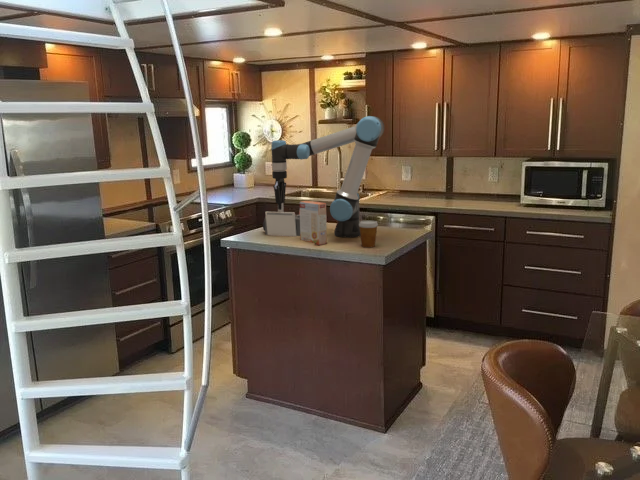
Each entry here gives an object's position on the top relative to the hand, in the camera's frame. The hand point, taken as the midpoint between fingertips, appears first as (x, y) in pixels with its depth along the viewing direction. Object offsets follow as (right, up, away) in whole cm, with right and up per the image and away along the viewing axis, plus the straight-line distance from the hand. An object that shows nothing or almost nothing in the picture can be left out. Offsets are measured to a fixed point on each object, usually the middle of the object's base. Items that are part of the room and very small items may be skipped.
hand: (280, 215), depth 308 cm
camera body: (+2, -10, +8) cm, 14 cm away
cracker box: (+17, -15, -11) cm, 25 cm away
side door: (0, -11, +3) cm, 11 cm away
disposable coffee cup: (+45, -16, -20) cm, 52 cm away
